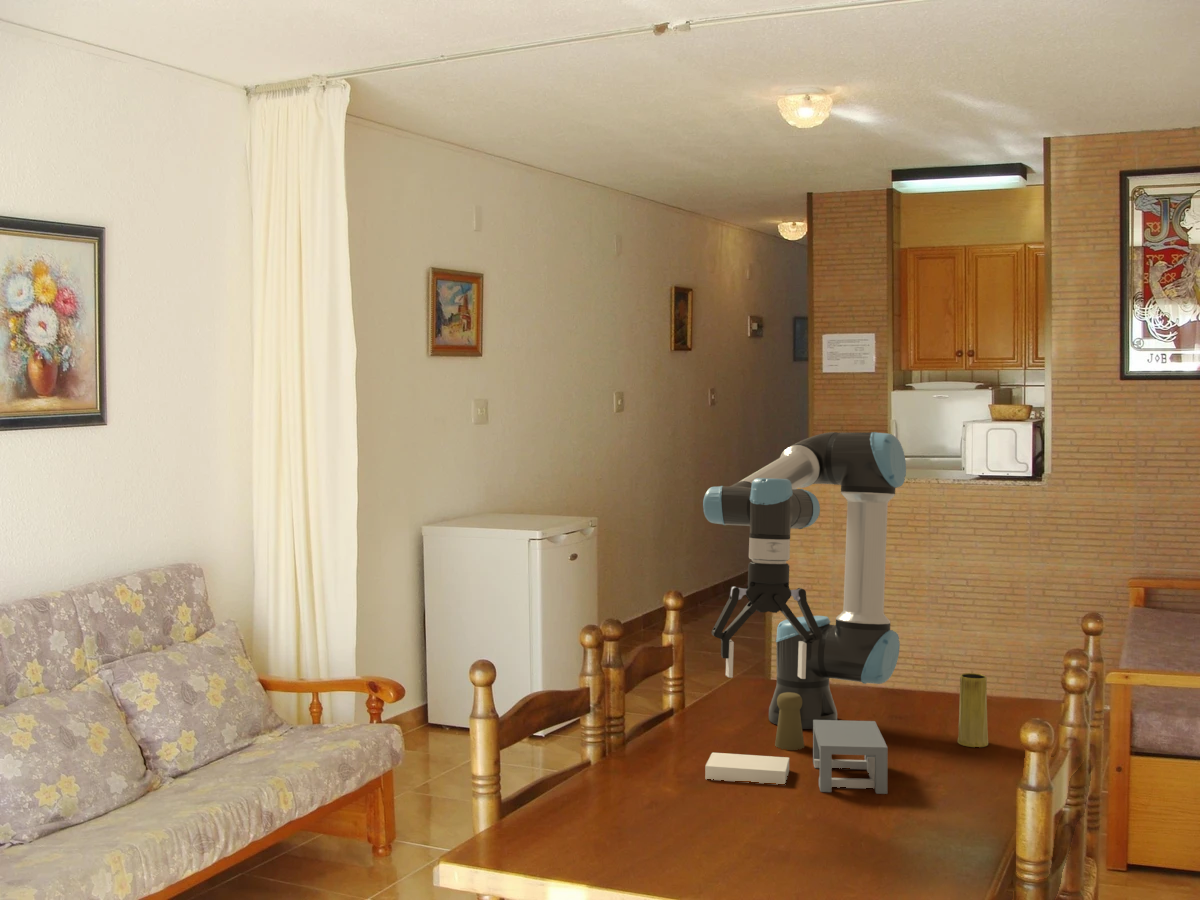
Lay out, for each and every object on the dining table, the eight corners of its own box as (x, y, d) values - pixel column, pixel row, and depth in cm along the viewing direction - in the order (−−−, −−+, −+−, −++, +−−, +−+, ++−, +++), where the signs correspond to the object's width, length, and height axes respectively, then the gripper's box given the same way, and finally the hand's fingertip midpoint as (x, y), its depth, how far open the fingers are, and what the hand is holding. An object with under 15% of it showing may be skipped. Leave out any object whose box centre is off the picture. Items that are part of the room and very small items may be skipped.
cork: (803, 742, 248) (803, 690, 247) (805, 750, 242) (805, 697, 241) (774, 741, 248) (774, 689, 248) (775, 749, 242) (775, 696, 242)
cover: (712, 767, 232) (712, 752, 232) (789, 772, 229) (789, 757, 229) (705, 781, 224) (705, 765, 224) (785, 787, 220) (785, 771, 220)
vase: (992, 747, 243) (992, 679, 242) (962, 747, 243) (962, 679, 243) (983, 739, 249) (983, 672, 249) (953, 739, 249) (954, 672, 249)
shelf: (813, 762, 234) (813, 719, 233) (874, 763, 233) (875, 721, 232) (820, 791, 216) (820, 745, 216) (887, 793, 215) (887, 747, 214)
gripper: (706, 561, 213) (702, 679, 213) (840, 565, 216) (837, 681, 215) (698, 558, 221) (695, 672, 220) (829, 561, 223) (825, 674, 223)
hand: (765, 677), depth 218 cm, fingers open, 13 cm apart
